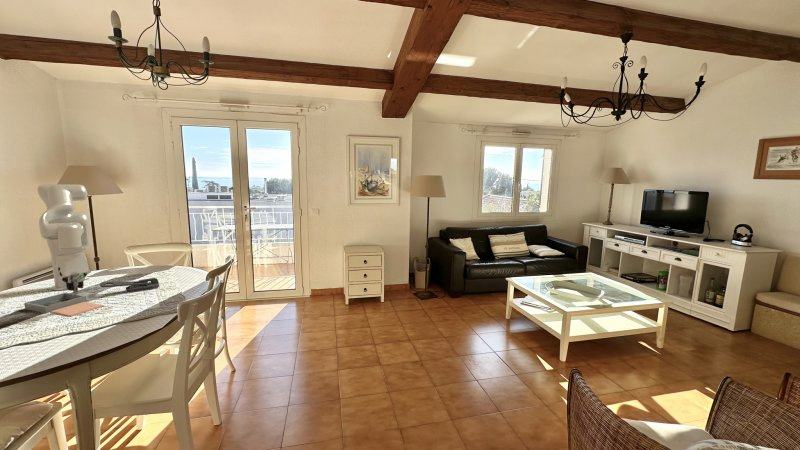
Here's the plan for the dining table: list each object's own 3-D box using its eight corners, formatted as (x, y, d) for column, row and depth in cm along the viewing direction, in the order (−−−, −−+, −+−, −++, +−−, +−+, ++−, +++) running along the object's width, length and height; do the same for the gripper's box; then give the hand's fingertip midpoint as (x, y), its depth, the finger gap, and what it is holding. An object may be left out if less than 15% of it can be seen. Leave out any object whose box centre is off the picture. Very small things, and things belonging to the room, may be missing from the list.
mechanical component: (80, 296, 152) (78, 275, 151) (64, 294, 155) (61, 273, 153) (87, 294, 155) (85, 273, 154) (71, 292, 157) (69, 272, 156)
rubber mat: (84, 302, 164) (84, 301, 164) (103, 306, 160) (103, 305, 160) (50, 312, 152) (50, 311, 152) (70, 316, 148) (70, 315, 148)
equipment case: (84, 293, 178) (84, 287, 177) (104, 296, 173) (104, 291, 173) (25, 309, 156) (24, 302, 155) (46, 313, 151) (45, 307, 151)
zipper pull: (99, 282, 177) (156, 273, 194) (101, 294, 177) (157, 284, 195) (100, 286, 170) (159, 277, 187) (101, 298, 171) (160, 288, 188)
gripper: (86, 247, 161) (90, 283, 164) (42, 253, 146) (47, 293, 148) (97, 248, 159) (101, 284, 161) (53, 255, 144) (58, 295, 146)
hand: (75, 288), depth 155 cm, fingers closed on mechanical component, 3 cm apart
